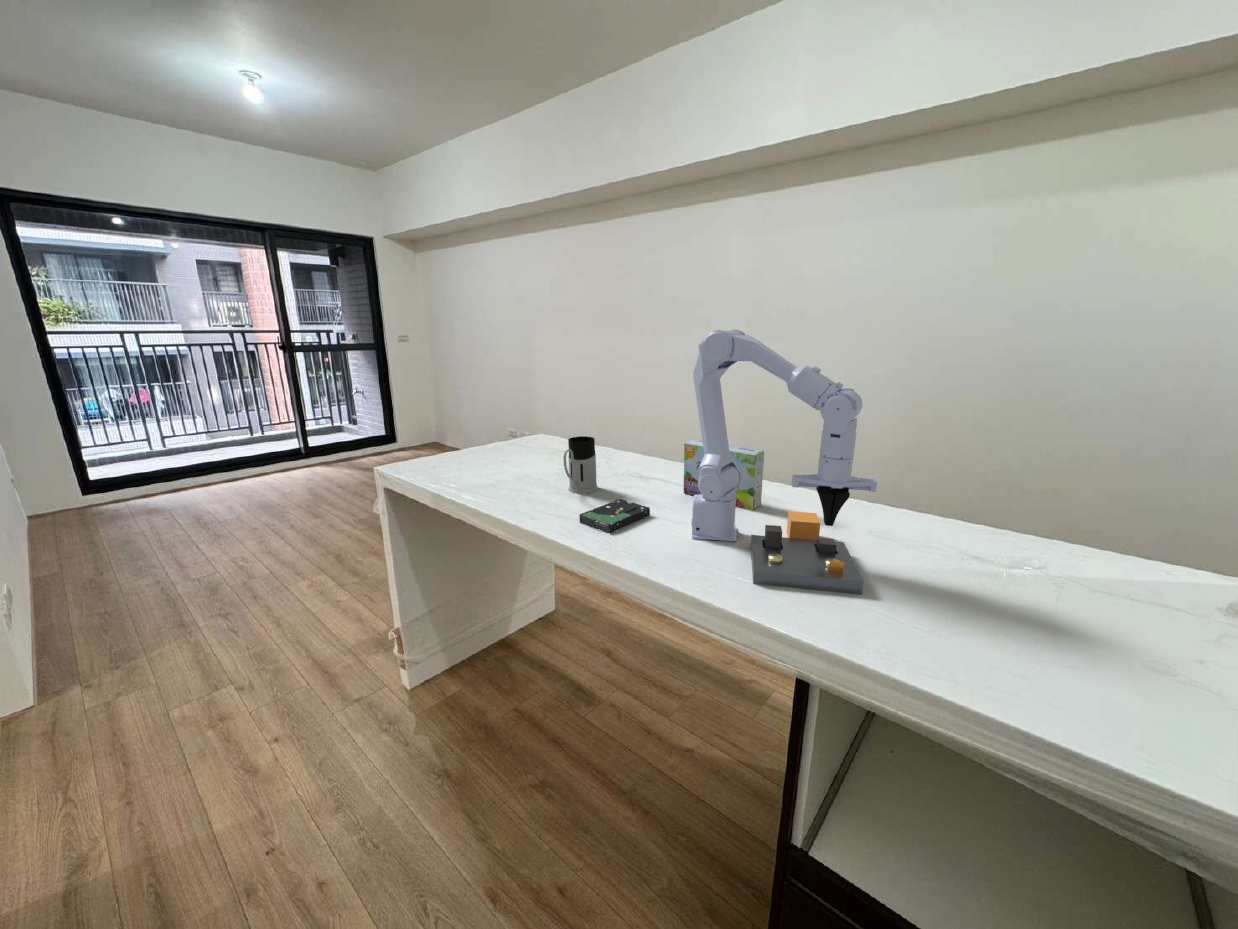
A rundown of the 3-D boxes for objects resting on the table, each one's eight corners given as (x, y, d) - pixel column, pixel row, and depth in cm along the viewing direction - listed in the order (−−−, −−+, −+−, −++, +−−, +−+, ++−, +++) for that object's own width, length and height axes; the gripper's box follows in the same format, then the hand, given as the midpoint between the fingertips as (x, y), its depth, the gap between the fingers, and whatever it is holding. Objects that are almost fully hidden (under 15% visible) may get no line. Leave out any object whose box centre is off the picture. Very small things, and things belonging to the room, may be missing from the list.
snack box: (682, 494, 132) (683, 442, 128) (692, 489, 136) (694, 438, 132) (752, 511, 119) (756, 453, 115) (762, 505, 123) (766, 449, 119)
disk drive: (619, 508, 124) (578, 524, 114) (619, 498, 123) (578, 513, 113) (650, 517, 117) (610, 536, 107) (650, 507, 117) (609, 524, 106)
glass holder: (603, 486, 140) (601, 437, 136) (580, 501, 128) (578, 447, 124) (577, 483, 144) (575, 435, 140) (552, 497, 131) (549, 445, 127)
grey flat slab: (753, 583, 85) (754, 560, 84) (750, 545, 100) (751, 526, 99) (861, 594, 81) (865, 570, 80) (842, 553, 96) (844, 532, 95)
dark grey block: (817, 562, 92) (819, 543, 91) (815, 555, 95) (817, 537, 94) (834, 564, 91) (836, 545, 90) (831, 557, 94) (833, 538, 93)
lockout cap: (789, 542, 101) (791, 521, 100) (786, 532, 106) (788, 511, 105) (818, 545, 100) (820, 523, 98) (813, 534, 105) (815, 513, 104)
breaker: (764, 549, 94) (766, 530, 92) (764, 543, 96) (765, 524, 95) (780, 550, 93) (782, 531, 92) (779, 544, 96) (780, 525, 95)
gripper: (797, 459, 85) (790, 528, 89) (885, 463, 82) (875, 535, 85) (793, 450, 92) (787, 515, 95) (874, 453, 88) (865, 520, 92)
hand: (828, 523), depth 91 cm, fingers closed
